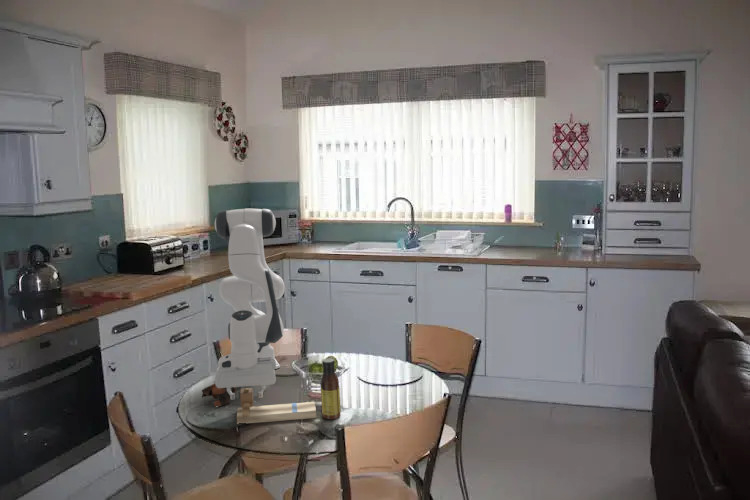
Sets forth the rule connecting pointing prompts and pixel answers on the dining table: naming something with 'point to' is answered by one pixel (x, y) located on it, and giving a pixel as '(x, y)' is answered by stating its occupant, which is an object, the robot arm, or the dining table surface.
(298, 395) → the dining table surface
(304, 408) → the board
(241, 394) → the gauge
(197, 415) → the dining table surface
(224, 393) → the rusty valve
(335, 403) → the sauce bottle
